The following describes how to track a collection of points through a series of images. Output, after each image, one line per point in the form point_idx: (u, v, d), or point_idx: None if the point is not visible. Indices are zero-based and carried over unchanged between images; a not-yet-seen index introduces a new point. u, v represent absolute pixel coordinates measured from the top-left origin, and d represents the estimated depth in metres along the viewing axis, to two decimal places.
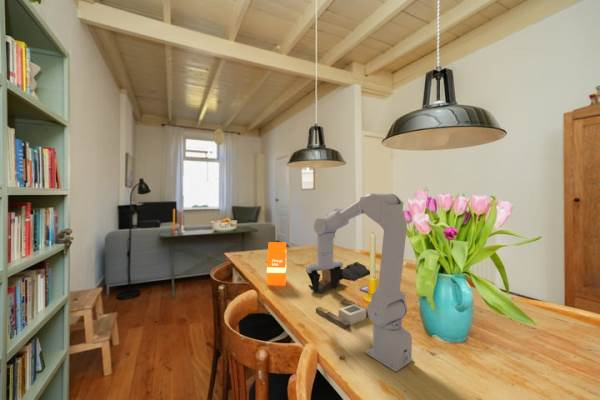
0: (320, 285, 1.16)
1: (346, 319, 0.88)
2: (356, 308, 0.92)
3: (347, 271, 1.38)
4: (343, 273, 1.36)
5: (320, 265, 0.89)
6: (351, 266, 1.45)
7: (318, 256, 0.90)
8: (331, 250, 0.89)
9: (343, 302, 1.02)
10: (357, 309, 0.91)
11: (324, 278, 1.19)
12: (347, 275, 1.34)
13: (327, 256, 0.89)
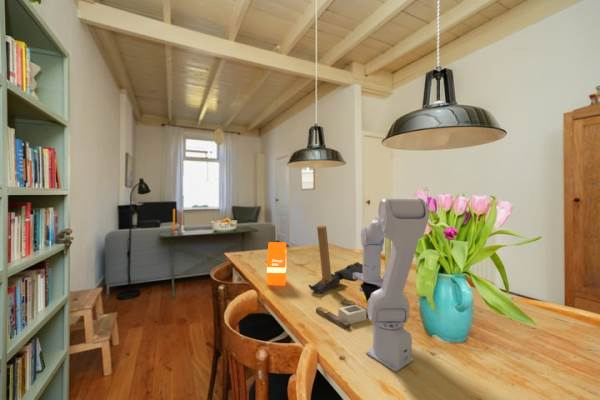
0: (320, 285, 1.16)
1: (345, 318, 0.88)
2: (356, 308, 0.91)
3: (347, 271, 1.38)
4: (343, 273, 1.36)
5: None
6: (351, 266, 1.44)
7: None
8: (375, 264, 0.82)
9: (343, 302, 1.02)
10: (357, 309, 0.91)
11: (324, 278, 1.19)
12: (347, 275, 1.34)
13: (364, 268, 0.84)
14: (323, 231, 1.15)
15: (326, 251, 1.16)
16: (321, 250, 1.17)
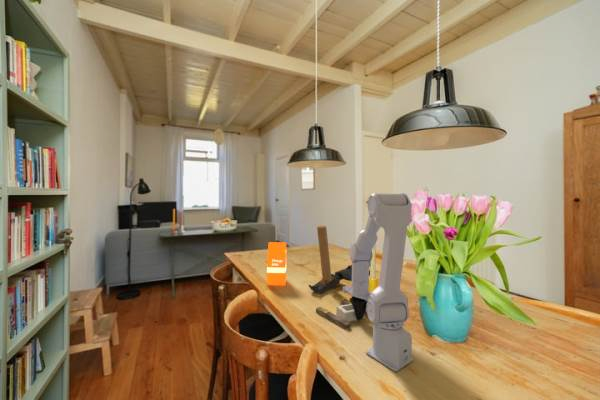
0: (320, 285, 1.16)
1: (342, 316, 0.90)
2: None
3: (348, 272, 1.37)
4: (343, 274, 1.35)
5: None
6: None
7: None
8: (365, 279, 0.86)
9: (343, 302, 1.02)
10: None
11: (324, 278, 1.19)
12: (347, 276, 1.34)
13: (353, 283, 0.88)
14: (323, 231, 1.15)
15: (326, 251, 1.17)
16: (321, 250, 1.17)
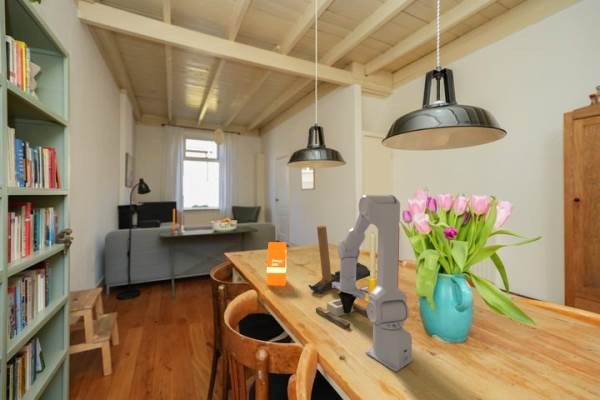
0: (320, 285, 1.16)
1: (333, 312, 0.94)
2: None
3: None
4: None
5: None
6: None
7: None
8: (352, 275, 0.90)
9: None
10: None
11: (324, 278, 1.19)
12: None
13: (340, 279, 0.92)
14: (323, 231, 1.15)
15: (326, 251, 1.17)
16: (321, 250, 1.17)
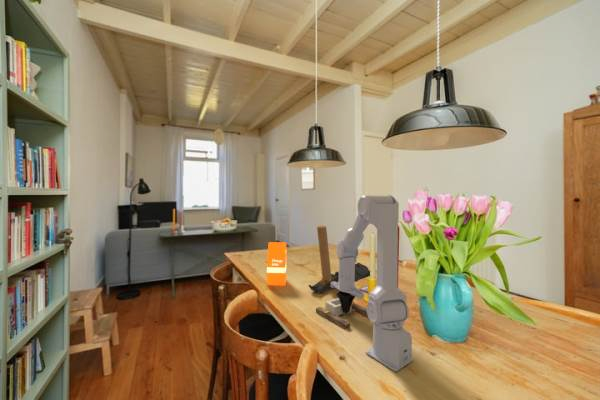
0: (320, 285, 1.16)
1: (331, 311, 0.94)
2: None
3: None
4: None
5: None
6: None
7: None
8: (351, 274, 0.91)
9: None
10: None
11: (324, 278, 1.19)
12: None
13: (339, 278, 0.93)
14: (323, 231, 1.15)
15: (326, 251, 1.16)
16: (321, 250, 1.17)
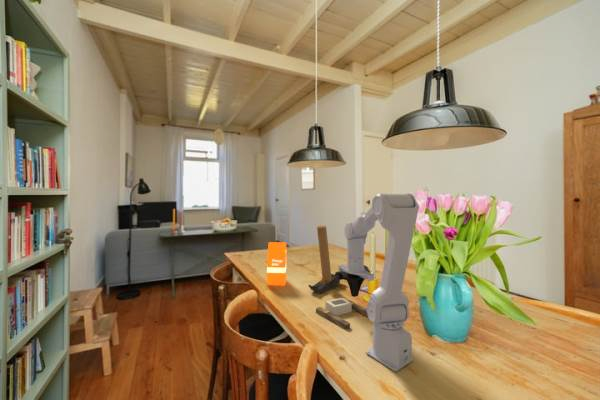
0: (320, 285, 1.16)
1: (331, 310, 0.94)
2: (342, 301, 0.97)
3: None
4: (344, 274, 1.35)
5: None
6: None
7: None
8: (360, 256, 0.87)
9: None
10: (343, 302, 0.97)
11: (324, 278, 1.19)
12: None
13: (348, 260, 0.89)
14: (323, 231, 1.15)
15: (326, 251, 1.16)
16: (321, 250, 1.17)
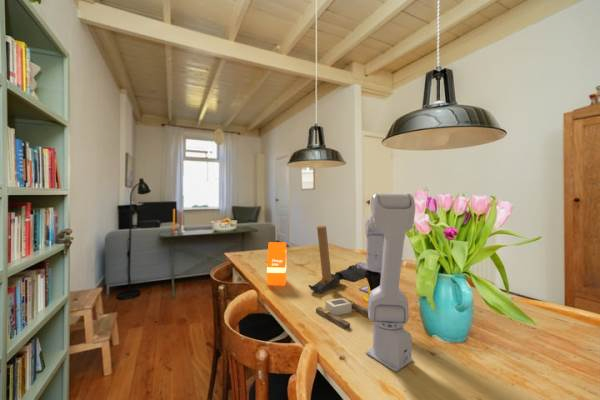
0: (320, 285, 1.16)
1: (330, 310, 0.95)
2: (342, 301, 0.97)
3: (348, 272, 1.36)
4: (344, 274, 1.35)
5: None
6: (353, 267, 1.43)
7: None
8: (377, 253, 0.87)
9: None
10: (343, 302, 0.97)
11: (324, 278, 1.19)
12: (348, 276, 1.33)
13: (367, 257, 0.89)
14: (323, 231, 1.15)
15: (326, 251, 1.16)
16: (321, 250, 1.17)
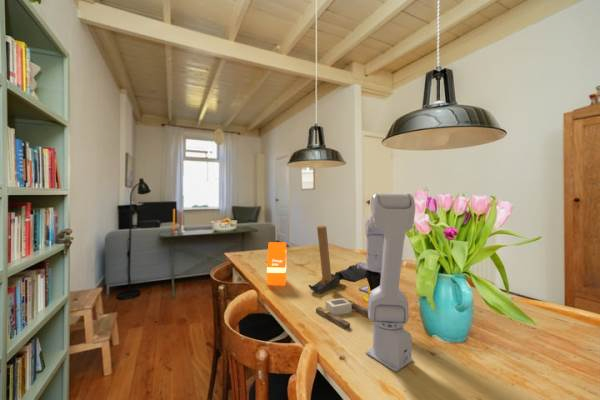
0: (320, 285, 1.16)
1: (330, 310, 0.95)
2: (342, 301, 0.97)
3: (348, 272, 1.36)
4: (344, 274, 1.34)
5: None
6: (353, 267, 1.43)
7: None
8: (377, 253, 0.87)
9: None
10: (343, 302, 0.97)
11: (324, 278, 1.19)
12: (348, 276, 1.33)
13: (367, 257, 0.89)
14: (323, 231, 1.15)
15: (326, 251, 1.16)
16: (321, 250, 1.17)
